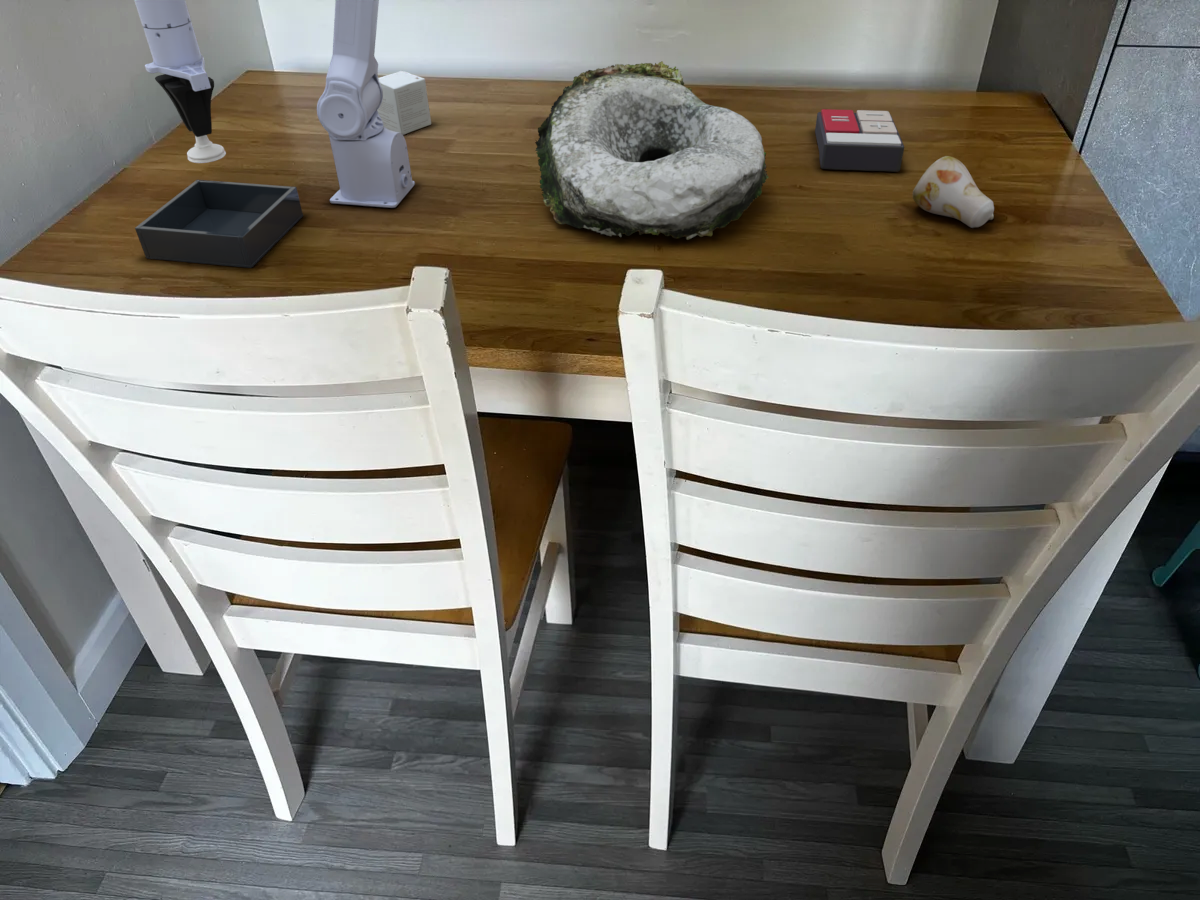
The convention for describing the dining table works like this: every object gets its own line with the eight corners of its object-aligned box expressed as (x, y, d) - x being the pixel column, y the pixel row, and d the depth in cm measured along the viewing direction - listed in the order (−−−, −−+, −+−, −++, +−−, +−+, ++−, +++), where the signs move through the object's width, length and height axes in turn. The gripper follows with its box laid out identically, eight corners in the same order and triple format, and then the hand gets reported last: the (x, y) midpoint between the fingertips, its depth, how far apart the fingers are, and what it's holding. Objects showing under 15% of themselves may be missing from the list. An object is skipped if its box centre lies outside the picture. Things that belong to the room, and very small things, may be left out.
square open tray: (303, 216, 120) (296, 186, 117) (251, 268, 109) (242, 237, 107) (206, 208, 122) (196, 179, 120) (146, 258, 112) (134, 227, 109)
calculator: (891, 108, 137) (906, 141, 125) (886, 137, 139) (900, 172, 127) (817, 106, 138) (825, 139, 126) (814, 134, 140) (820, 169, 128)
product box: (409, 116, 148) (402, 69, 143) (432, 125, 144) (426, 78, 139) (378, 126, 144) (370, 79, 139) (401, 136, 141) (393, 88, 136)
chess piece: (214, 164, 120) (191, 87, 114) (180, 162, 121) (155, 85, 115) (232, 150, 124) (211, 74, 117) (200, 147, 125) (177, 72, 118)
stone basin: (641, 88, 134) (665, -2, 121) (781, 221, 127) (823, 140, 114) (484, 164, 122) (493, 73, 108) (629, 316, 114) (657, 238, 101)
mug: (975, 243, 112) (950, 168, 108) (918, 245, 120) (893, 176, 117) (1016, 213, 114) (992, 138, 110) (957, 217, 122) (933, 148, 119)
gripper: (115, 16, 114) (151, 123, 123) (153, 42, 105) (189, 155, 114) (171, 6, 117) (202, 111, 126) (212, 30, 109) (243, 141, 117)
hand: (200, 131), depth 120 cm, fingers closed on chess piece
